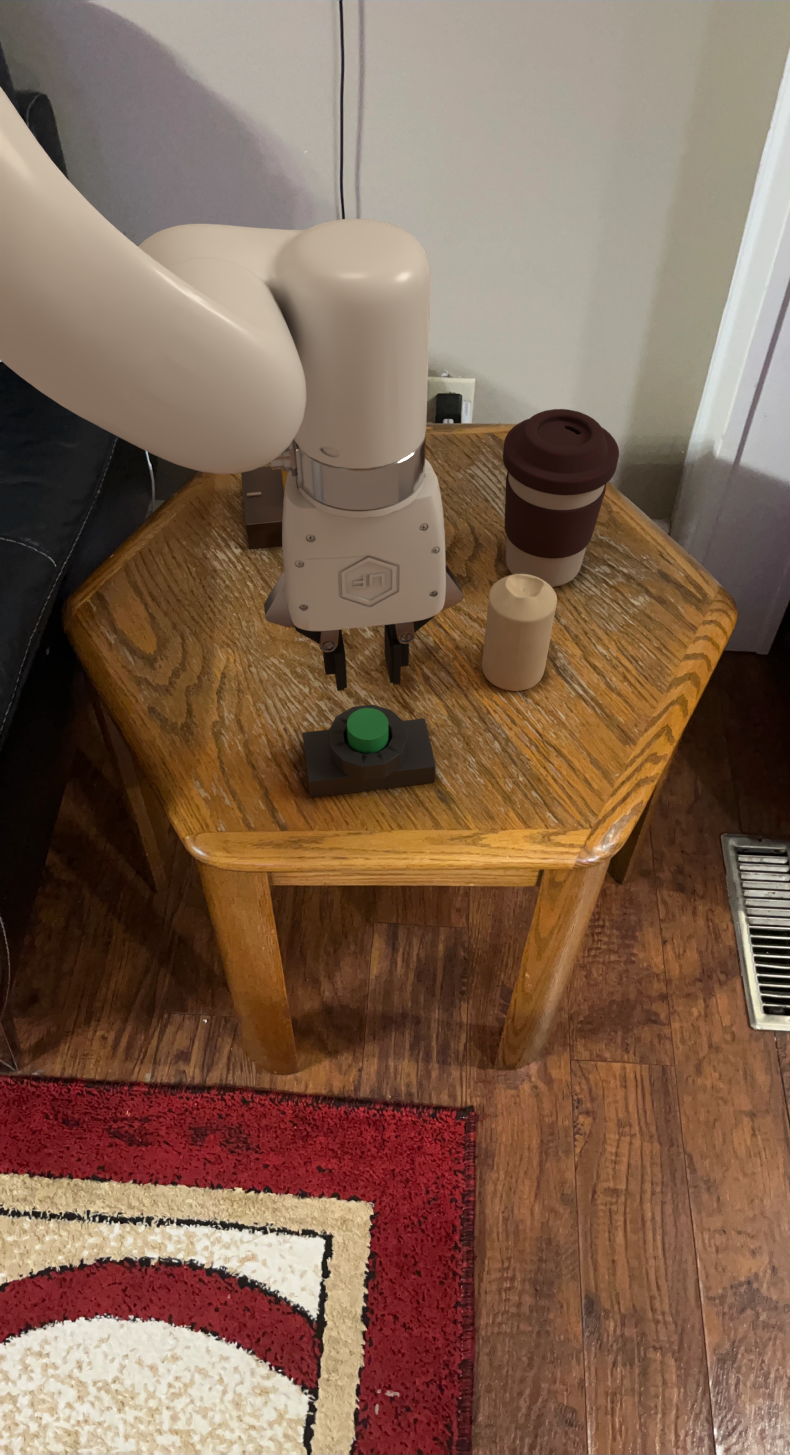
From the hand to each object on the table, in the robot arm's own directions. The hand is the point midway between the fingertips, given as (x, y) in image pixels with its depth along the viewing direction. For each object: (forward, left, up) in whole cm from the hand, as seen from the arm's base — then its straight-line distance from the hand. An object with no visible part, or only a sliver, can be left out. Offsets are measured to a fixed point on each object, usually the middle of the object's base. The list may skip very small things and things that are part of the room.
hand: (366, 671), depth 70 cm
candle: (+14, +9, -11) cm, 20 cm away
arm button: (0, 0, -8) cm, 8 cm away
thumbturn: (-3, +33, -8) cm, 34 cm away
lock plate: (-3, +33, -11) cm, 35 cm away
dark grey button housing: (0, 0, -11) cm, 11 cm away
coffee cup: (+20, +22, -11) cm, 32 cm away
